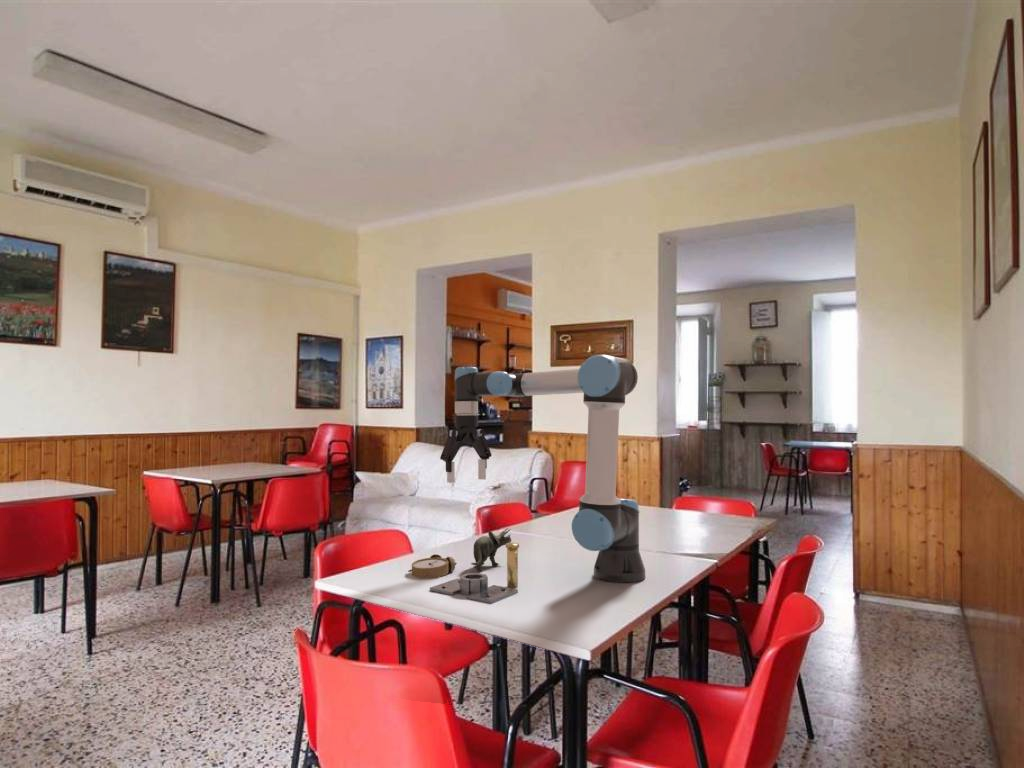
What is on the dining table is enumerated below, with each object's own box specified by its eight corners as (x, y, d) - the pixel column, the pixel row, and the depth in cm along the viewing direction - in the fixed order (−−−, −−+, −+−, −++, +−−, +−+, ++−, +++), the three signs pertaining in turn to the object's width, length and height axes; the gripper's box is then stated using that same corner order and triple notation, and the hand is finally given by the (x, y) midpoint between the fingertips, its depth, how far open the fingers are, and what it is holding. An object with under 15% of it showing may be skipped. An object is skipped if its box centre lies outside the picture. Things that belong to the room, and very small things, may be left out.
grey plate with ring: (457, 581, 183) (457, 567, 183) (517, 592, 171) (517, 577, 171) (429, 590, 173) (429, 575, 173) (491, 603, 161) (491, 587, 161)
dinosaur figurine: (474, 577, 187) (474, 539, 188) (451, 573, 192) (451, 536, 192) (513, 562, 206) (513, 527, 206) (491, 559, 210) (491, 525, 211)
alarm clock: (402, 565, 191) (437, 548, 202) (405, 581, 191) (439, 563, 203) (428, 571, 184) (463, 552, 196) (431, 587, 184) (465, 568, 196)
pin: (521, 586, 177) (521, 543, 178) (514, 589, 174) (514, 545, 175) (510, 584, 180) (510, 542, 180) (503, 587, 176) (503, 544, 177)
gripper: (485, 414, 216) (486, 477, 215) (428, 415, 198) (429, 483, 197) (501, 414, 211) (502, 478, 210) (444, 414, 193) (444, 484, 192)
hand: (466, 481), depth 203 cm, fingers open, 13 cm apart
